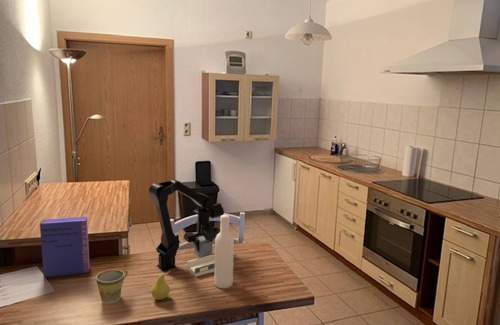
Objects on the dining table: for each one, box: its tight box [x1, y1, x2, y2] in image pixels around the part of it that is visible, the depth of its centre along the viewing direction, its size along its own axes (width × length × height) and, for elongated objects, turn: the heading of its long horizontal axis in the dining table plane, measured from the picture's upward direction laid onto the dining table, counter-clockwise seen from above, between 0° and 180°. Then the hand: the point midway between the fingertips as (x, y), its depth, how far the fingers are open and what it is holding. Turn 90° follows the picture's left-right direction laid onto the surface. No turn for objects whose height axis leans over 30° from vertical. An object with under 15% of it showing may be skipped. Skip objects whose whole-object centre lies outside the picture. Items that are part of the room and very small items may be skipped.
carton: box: [193, 236, 213, 258], centre depth 182 cm, size 5×9×8 cm, turn 36°
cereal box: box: [39, 216, 91, 278], centre depth 160 cm, size 17×5×24 cm, turn 108°
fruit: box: [151, 270, 171, 301], centre depth 144 cm, size 7×8×12 cm
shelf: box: [185, 253, 235, 277], centre depth 171 cm, size 20×10×4 cm, turn 126°
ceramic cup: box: [95, 268, 129, 305], centre depth 143 cm, size 13×10×10 cm
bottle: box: [213, 214, 235, 289], centre depth 154 cm, size 8×8×30 cm
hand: (203, 250), depth 183 cm, fingers closed on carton, 5 cm apart
